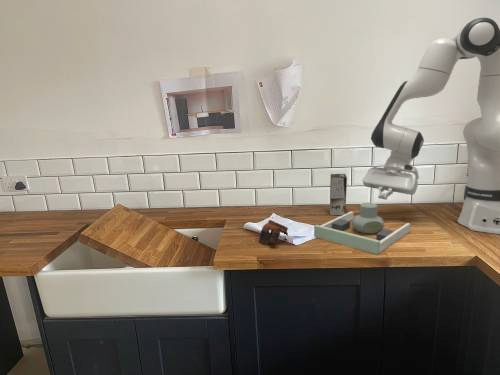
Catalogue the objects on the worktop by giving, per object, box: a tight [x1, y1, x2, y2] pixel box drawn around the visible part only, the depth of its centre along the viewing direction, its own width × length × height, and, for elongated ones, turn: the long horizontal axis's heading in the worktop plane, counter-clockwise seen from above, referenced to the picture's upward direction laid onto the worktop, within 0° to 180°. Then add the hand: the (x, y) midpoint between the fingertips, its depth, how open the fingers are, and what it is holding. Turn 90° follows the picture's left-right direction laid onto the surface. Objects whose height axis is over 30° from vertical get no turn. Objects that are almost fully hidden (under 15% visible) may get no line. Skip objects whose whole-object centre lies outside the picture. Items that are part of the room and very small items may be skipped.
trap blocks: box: [332, 219, 395, 241], centre depth 122 cm, size 21×6×2 cm, turn 46°
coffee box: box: [329, 173, 348, 216], centre depth 146 cm, size 9×6×16 cm
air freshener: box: [351, 202, 385, 235], centre depth 124 cm, size 11×8×10 cm
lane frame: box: [313, 211, 411, 255], centre depth 122 cm, size 23×26×4 cm
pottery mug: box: [258, 219, 289, 246], centre depth 117 cm, size 12×10×8 cm
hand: (382, 198), depth 132 cm, fingers closed
